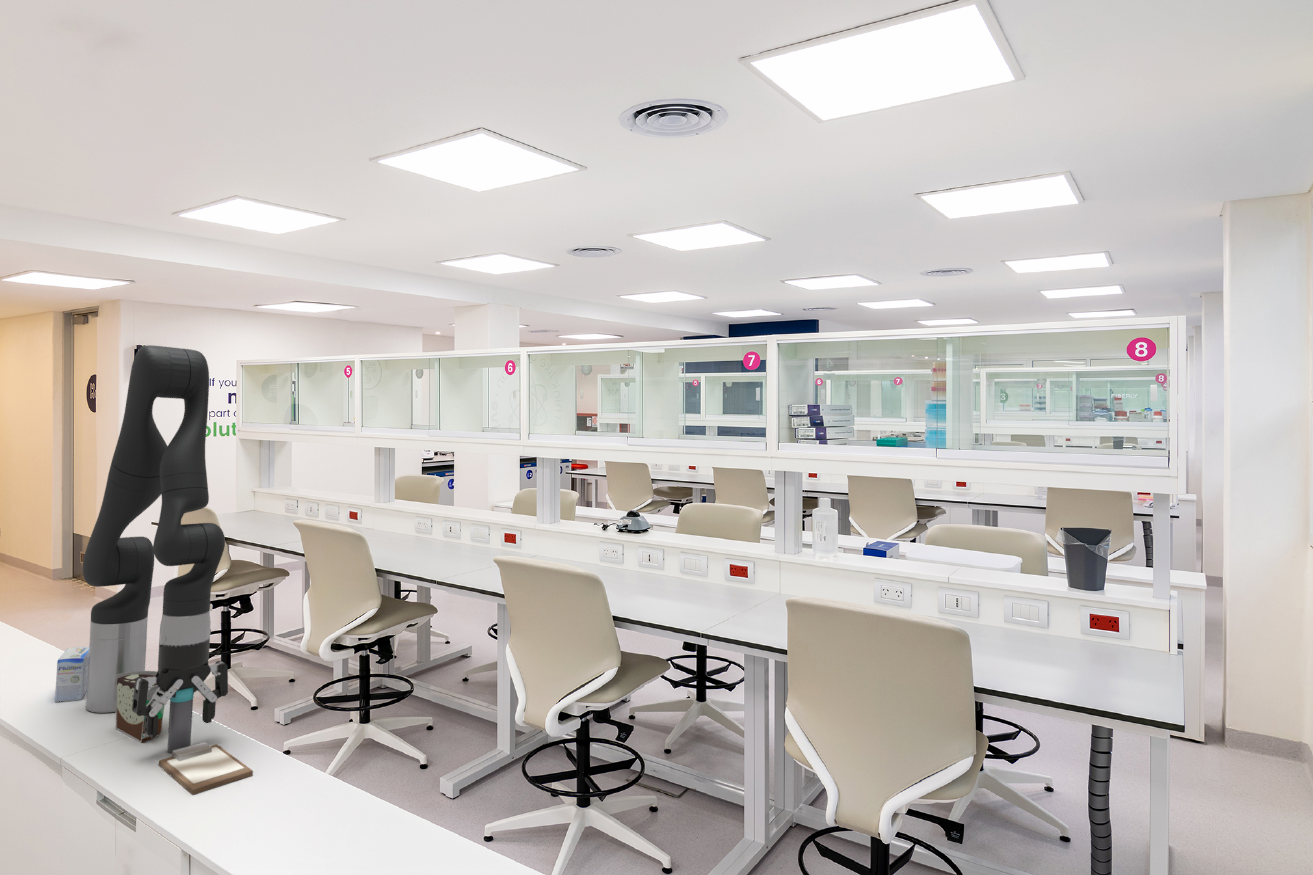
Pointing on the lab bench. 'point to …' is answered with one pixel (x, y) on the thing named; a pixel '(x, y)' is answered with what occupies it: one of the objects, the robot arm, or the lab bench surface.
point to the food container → (124, 699)
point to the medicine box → (72, 674)
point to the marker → (180, 720)
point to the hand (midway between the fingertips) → (180, 728)
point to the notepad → (204, 767)
